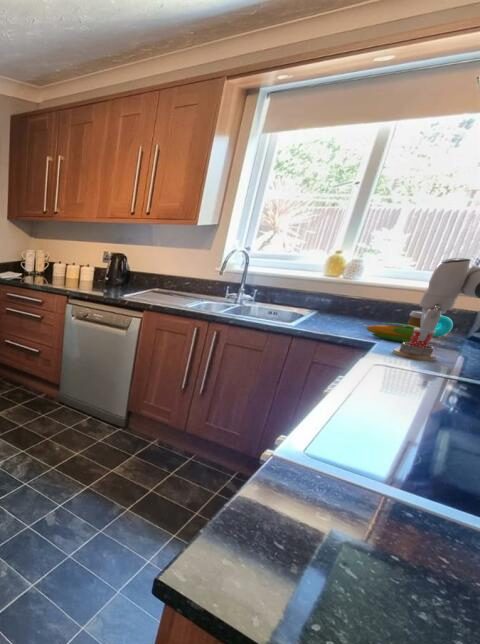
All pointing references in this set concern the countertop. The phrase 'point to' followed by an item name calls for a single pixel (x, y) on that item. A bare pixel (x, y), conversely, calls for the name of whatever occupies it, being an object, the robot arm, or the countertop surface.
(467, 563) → the countertop surface
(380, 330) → the corn
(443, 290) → the robot arm
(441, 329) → the turquoise rounded piece
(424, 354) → the stand
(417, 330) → the beverage cup
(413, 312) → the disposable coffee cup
